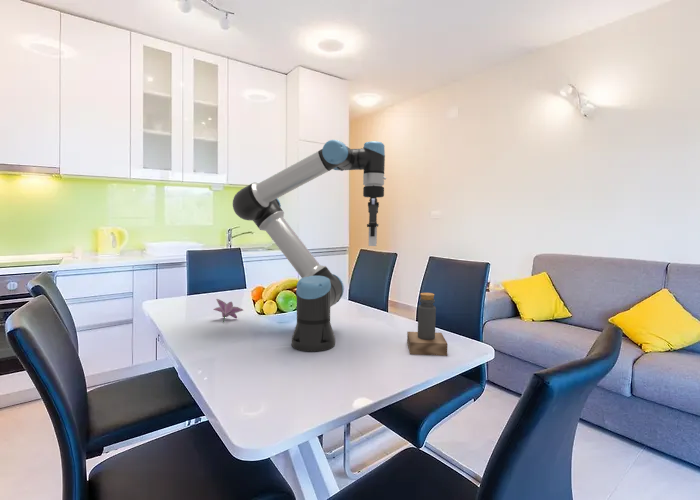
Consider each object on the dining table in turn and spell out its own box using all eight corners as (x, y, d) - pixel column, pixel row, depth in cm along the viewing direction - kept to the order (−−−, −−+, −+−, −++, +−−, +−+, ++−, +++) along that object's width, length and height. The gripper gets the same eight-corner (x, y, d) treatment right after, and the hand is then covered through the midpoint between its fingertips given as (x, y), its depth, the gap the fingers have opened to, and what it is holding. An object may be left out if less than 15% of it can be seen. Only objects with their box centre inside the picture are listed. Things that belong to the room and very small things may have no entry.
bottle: (435, 340, 124) (436, 295, 123) (417, 339, 125) (418, 295, 124) (434, 335, 130) (436, 292, 129) (417, 334, 131) (418, 291, 130)
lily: (246, 324, 159) (247, 302, 163) (223, 318, 150) (226, 296, 154) (227, 328, 165) (229, 307, 169) (204, 323, 156) (207, 301, 160)
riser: (409, 354, 122) (410, 342, 122) (407, 342, 134) (407, 331, 134) (447, 355, 121) (447, 343, 121) (441, 343, 133) (441, 332, 133)
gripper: (384, 182, 122) (383, 247, 124) (383, 189, 147) (382, 242, 148) (361, 182, 123) (360, 246, 124) (364, 189, 147) (363, 242, 149)
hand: (372, 244), depth 136 cm, fingers open, 13 cm apart
